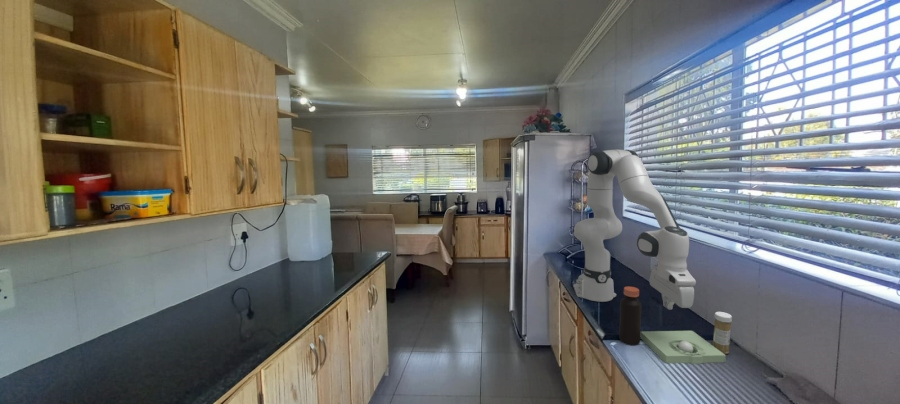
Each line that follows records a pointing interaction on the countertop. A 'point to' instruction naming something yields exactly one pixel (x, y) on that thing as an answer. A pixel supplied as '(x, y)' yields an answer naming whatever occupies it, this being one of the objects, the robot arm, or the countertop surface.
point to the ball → (685, 346)
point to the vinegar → (630, 317)
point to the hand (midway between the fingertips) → (667, 307)
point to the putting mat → (669, 352)
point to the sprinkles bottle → (722, 331)
